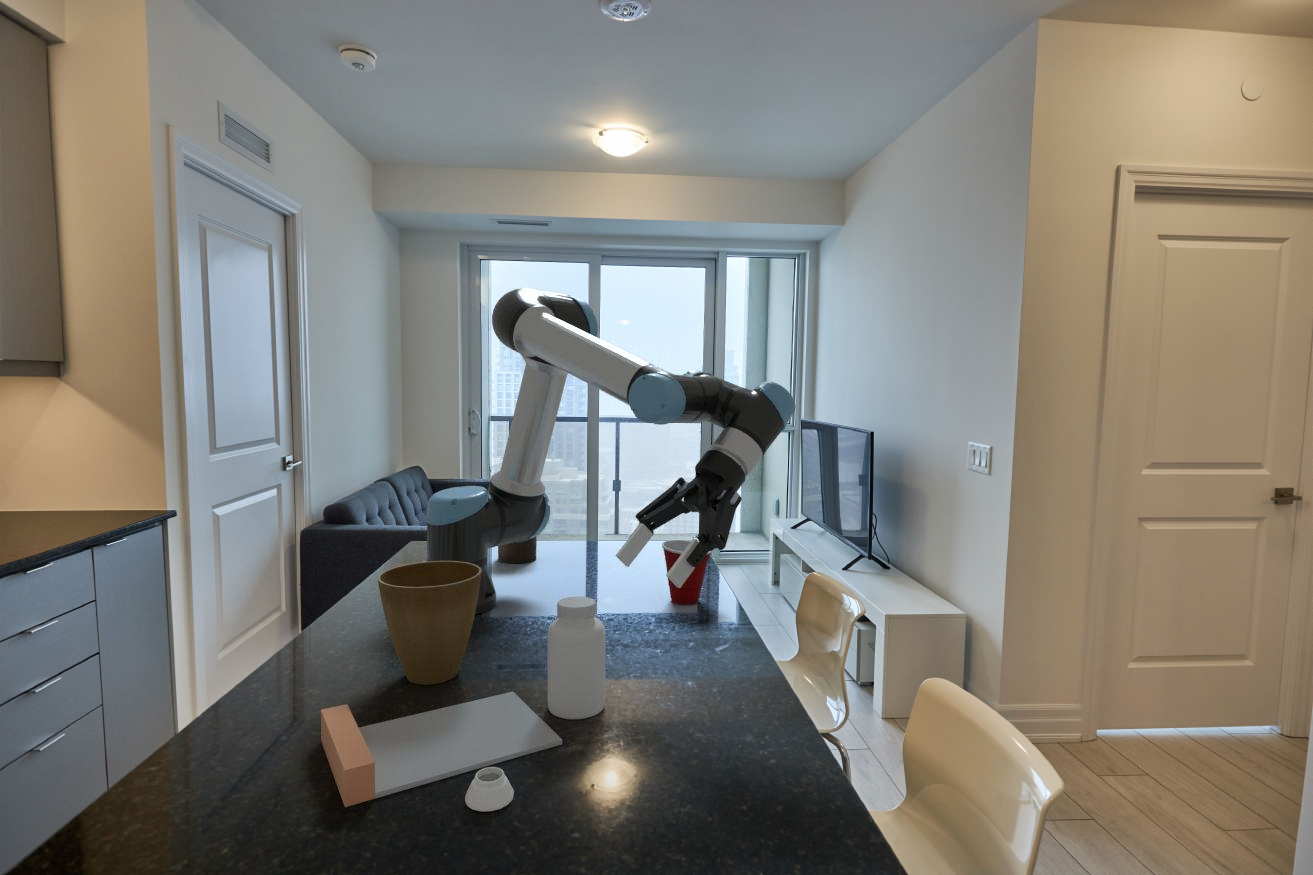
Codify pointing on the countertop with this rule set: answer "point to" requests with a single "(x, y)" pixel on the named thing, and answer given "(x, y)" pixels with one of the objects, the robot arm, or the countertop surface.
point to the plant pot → (430, 616)
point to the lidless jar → (489, 790)
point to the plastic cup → (694, 582)
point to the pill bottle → (576, 660)
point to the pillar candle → (518, 551)
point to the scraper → (428, 744)
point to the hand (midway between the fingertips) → (645, 571)
